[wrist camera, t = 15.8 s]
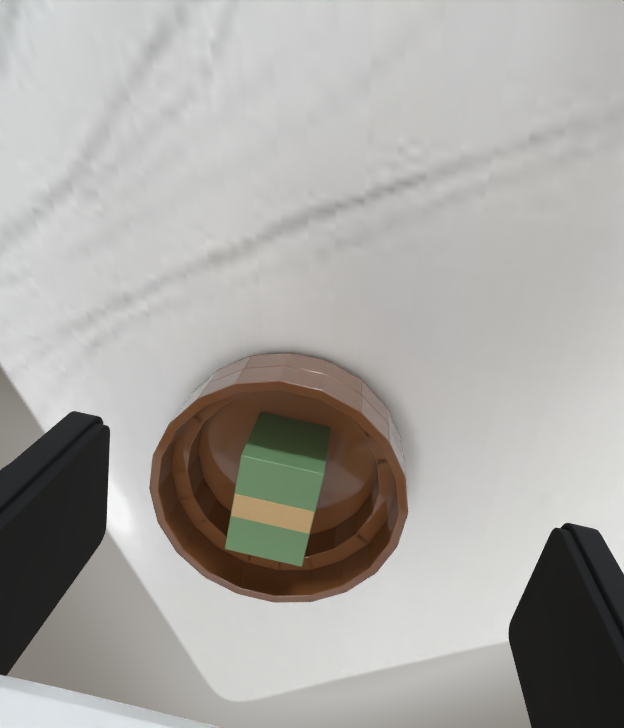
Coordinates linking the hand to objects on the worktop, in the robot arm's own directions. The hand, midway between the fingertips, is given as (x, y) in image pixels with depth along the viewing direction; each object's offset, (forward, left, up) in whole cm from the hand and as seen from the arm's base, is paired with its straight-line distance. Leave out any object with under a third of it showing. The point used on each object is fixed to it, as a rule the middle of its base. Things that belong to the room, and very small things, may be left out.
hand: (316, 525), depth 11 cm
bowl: (+2, +13, -24) cm, 28 cm away
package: (+2, +13, -24) cm, 27 cm away
